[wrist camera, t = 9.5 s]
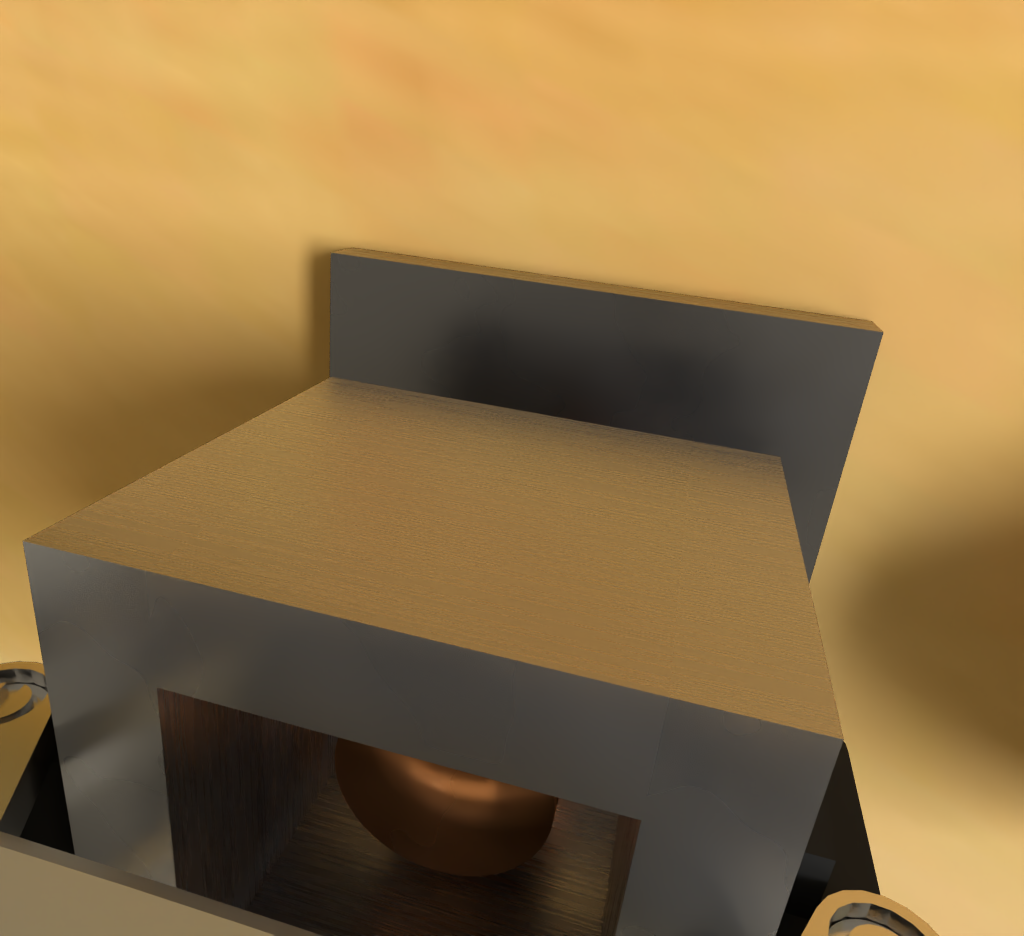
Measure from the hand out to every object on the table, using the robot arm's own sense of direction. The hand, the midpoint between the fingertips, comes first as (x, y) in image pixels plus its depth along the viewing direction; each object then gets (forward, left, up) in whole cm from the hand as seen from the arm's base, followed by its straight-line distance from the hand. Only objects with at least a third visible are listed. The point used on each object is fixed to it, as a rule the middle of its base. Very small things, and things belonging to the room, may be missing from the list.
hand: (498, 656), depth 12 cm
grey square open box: (0, 0, -1) cm, 1 cm away
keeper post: (0, 0, -5) cm, 5 cm away
